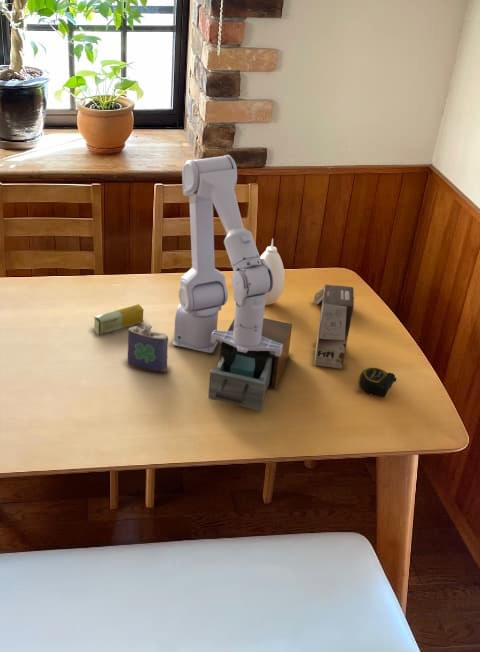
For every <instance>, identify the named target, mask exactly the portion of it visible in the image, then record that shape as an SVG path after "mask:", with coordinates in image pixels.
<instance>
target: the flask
mask: <svg viewBox="0 0 480 652" xmlns="http://www.w3.org/2000/svg"><path fill="white" fill-rule="evenodd" d="M152 328H153V326H152V325H151V324H148V325H144V327H143V328H141V327H139V326H138V325H137V326H129V328H128V329H127V365H128V366H130V367H132V368H135V369H138V370H142V371H147V372H152V373H157V374H160V373H161V374H164V373H166V372H167V370H168V349H169V348H168V345H169V343H168V342H169V337H168V334H166V333H163V332H162V333H161V332H157V331H151V330H152Z"/></svg>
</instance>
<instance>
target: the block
mask: <svg viewBox="0 0 480 652" xmlns="http://www.w3.org/2000/svg"><path fill="white" fill-rule="evenodd" d="M254 372H255V358H250V357H246V356H241V355H236V357H235V359H234V361H233V363H232V365H231V368H230V373H233V374H237V375H242V376H246V377H251V378H254Z"/></svg>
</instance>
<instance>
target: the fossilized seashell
mask: <svg viewBox="0 0 480 652" xmlns="http://www.w3.org/2000/svg"><path fill="white" fill-rule="evenodd" d="M324 288H325V285H323V287H322V288H320V289H318V290H317V291H316V293H315V294H314V299H313V300H314V301H313V302H314V305H316V306H319V307H322V301H323V295H324Z"/></svg>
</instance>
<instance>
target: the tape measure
mask: <svg viewBox="0 0 480 652" xmlns="http://www.w3.org/2000/svg"><path fill="white" fill-rule="evenodd" d="M397 379H398V378H396V374H394V372H393V373H392V372H387V371H386V370H384V369H382V368H379V367H368V368H365V369H364V370H363V371H362V372H361V373H360V375H359V378H358V386H359V388H360V390H361V391H362V392H363V393H365V394H367V395H370V396H374V397H379V398H386V396H387V394H388V391H389V390H390V389H391V388H392V386H393V384H394V382H395V383H396V382H397Z"/></svg>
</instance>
